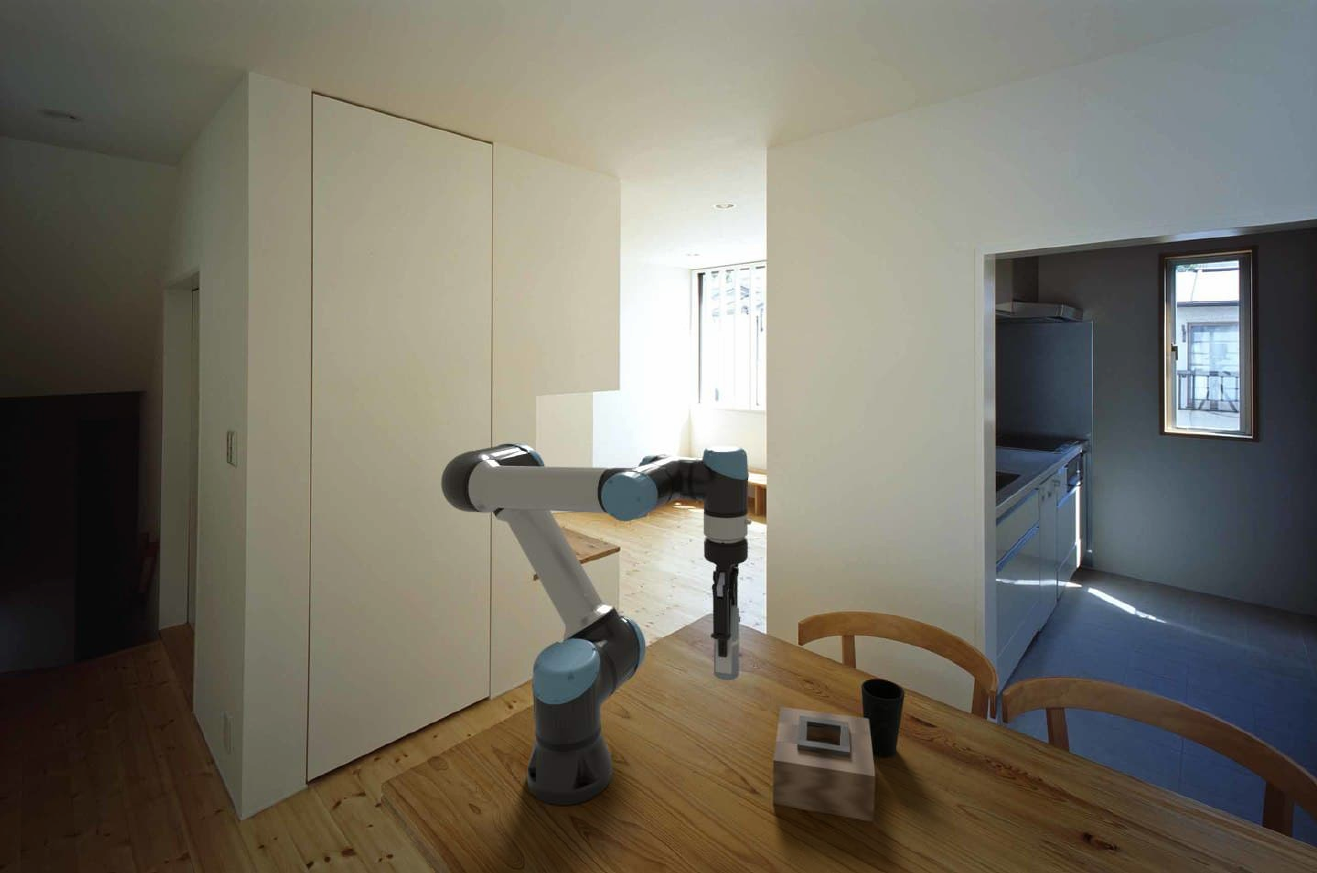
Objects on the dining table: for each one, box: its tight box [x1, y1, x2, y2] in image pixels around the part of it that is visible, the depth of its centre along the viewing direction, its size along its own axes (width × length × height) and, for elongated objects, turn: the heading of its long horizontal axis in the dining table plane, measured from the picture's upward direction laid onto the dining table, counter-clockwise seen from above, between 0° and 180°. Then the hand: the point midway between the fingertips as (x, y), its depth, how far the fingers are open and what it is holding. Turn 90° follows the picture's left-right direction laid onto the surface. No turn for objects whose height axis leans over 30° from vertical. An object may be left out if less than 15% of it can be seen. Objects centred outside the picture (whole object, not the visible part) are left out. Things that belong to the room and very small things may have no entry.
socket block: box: [772, 706, 876, 823], centre depth 107 cm, size 16×16×9 cm
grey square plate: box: [810, 739, 837, 745], centre depth 107 cm, size 5×5×1 cm
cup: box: [860, 678, 906, 758], centre depth 115 cm, size 8×8×12 cm
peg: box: [713, 605, 740, 681], centre depth 107 cm, size 4×4×12 cm
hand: (726, 664), depth 108 cm, fingers closed on peg, 4 cm apart
